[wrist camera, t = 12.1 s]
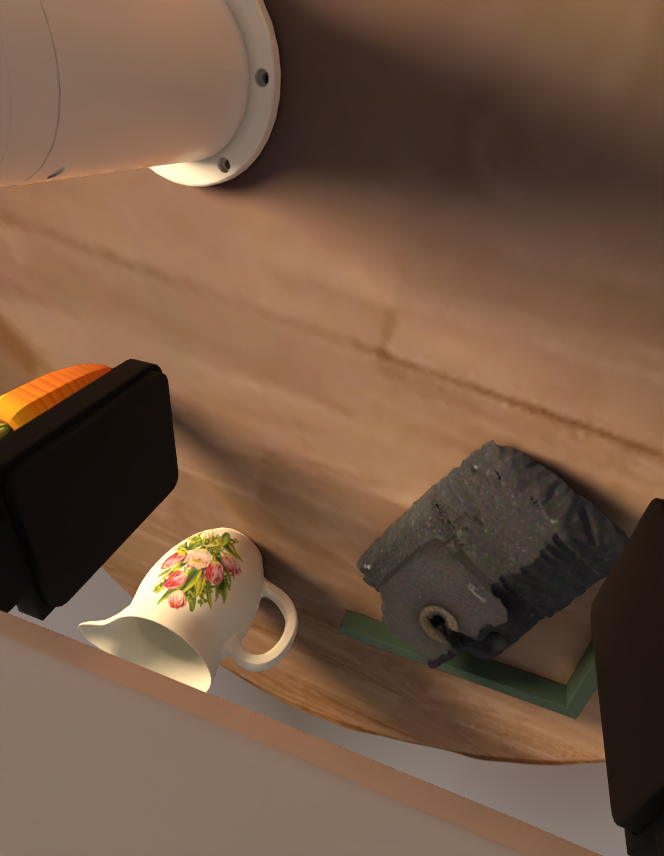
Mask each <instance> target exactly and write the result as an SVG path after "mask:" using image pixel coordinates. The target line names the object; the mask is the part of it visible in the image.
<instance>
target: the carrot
mask: <svg viewBox="0 0 664 856" xmlns="http://www.w3.org/2000/svg"><path fill="white" fill-rule="evenodd" d="M110 370H112V369H111V368H110V367H108V366H106V365H97V364H86V365H77V366H73V367H69V368H65V369H62V370H58V371H55V372H52V373H49V374H47V375H44V376H42V377H40V378H38V379H35V380H33V381H31V382H29V383H27V384H25V385H23V386H20V387H18V388H16V389H14V390H12V391H10V392H8V393H6V394H4V395H2V396H0V439H2V438H4V437H5V436H7V435H8V434H10V433H12V432H13V431H15V430H16V429H18V428H20V427H21V426H23V425H24V424H26V423H27V422H29V421H31V420H32V419H34V418H35V417H37V416H39V415H40V414H42V413H43V412H45V411H47V410H48V409H50V408H51V407H53V406H55V405H56V404H58V403H59V402H61V401H63V400H64V399H66V398H67V397H69V396H71V395H72V394H74V393H75V392H77V391H79V390H80V389H82V388H83V387H85V386H87V385H88V384H90V383H91V382H93V381H94V380H96V379H98V378H99V377H101V376H102V375H104V374H106V373H107V372H109V371H110Z"/></svg>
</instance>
